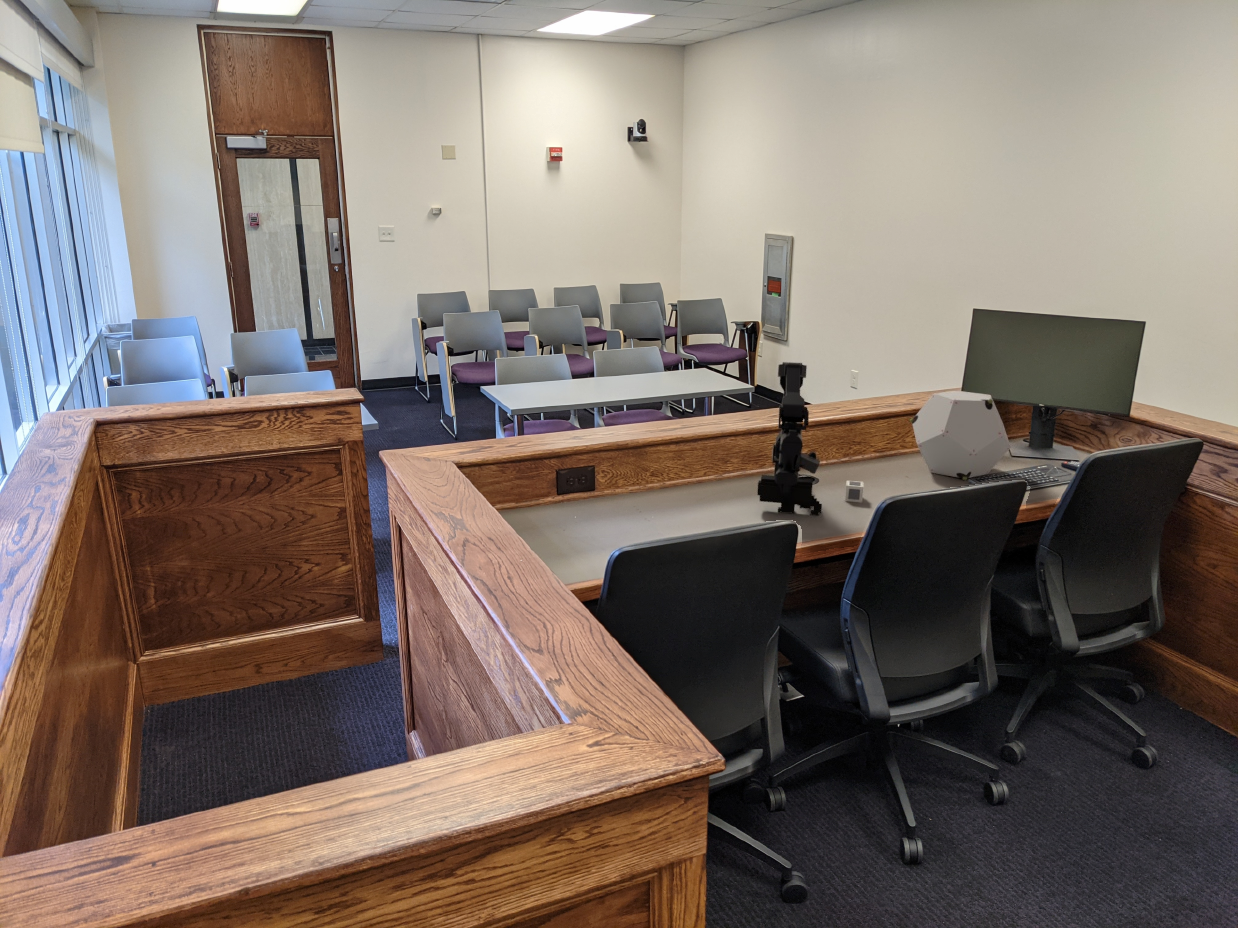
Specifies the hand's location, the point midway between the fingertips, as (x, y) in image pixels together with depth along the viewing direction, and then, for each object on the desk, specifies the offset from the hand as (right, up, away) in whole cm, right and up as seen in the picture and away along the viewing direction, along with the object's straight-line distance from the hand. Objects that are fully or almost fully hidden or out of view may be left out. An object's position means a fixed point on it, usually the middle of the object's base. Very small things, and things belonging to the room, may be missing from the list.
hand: (786, 496), depth 254 cm
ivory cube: (+23, -1, +12) cm, 26 cm away
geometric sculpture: (+65, +7, +41) cm, 77 cm away
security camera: (+1, -4, +1) cm, 5 cm away
